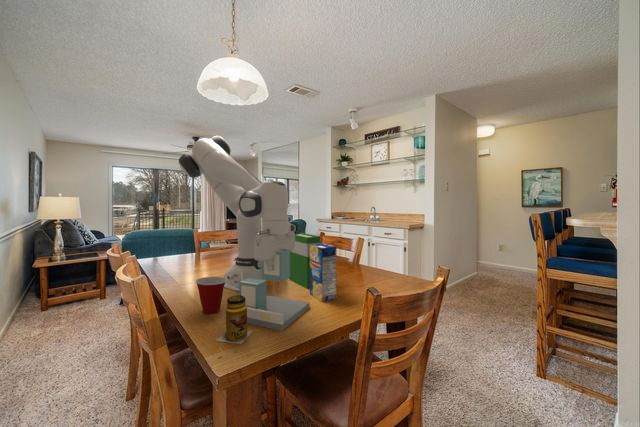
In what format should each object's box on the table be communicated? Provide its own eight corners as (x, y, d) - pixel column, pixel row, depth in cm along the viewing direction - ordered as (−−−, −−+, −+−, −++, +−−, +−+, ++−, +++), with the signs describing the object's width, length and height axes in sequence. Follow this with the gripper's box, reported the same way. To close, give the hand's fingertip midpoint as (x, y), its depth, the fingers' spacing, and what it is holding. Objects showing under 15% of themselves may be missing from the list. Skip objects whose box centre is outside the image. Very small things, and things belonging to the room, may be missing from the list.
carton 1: (239, 309, 96) (238, 281, 95) (248, 304, 100) (248, 277, 100) (257, 313, 92) (257, 284, 92) (266, 308, 97) (266, 280, 97)
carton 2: (261, 279, 91) (261, 249, 91) (270, 275, 96) (270, 247, 95) (281, 282, 88) (281, 251, 87) (289, 278, 93) (289, 248, 92)
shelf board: (231, 319, 92) (231, 305, 92) (265, 300, 110) (265, 288, 110) (281, 331, 84) (281, 315, 84) (309, 307, 102) (309, 294, 102)
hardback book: (289, 279, 139) (288, 233, 138) (301, 277, 143) (301, 232, 142) (307, 289, 124) (307, 237, 123) (320, 286, 128) (320, 236, 127)
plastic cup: (232, 310, 100) (232, 278, 99) (203, 319, 92) (203, 285, 91) (219, 302, 107) (218, 273, 107) (191, 311, 100) (190, 279, 99)
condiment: (242, 344, 77) (241, 302, 76) (214, 341, 78) (214, 301, 77) (252, 331, 84) (252, 294, 83) (227, 329, 85) (226, 292, 85)
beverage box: (322, 302, 108) (322, 248, 107) (309, 294, 118) (309, 244, 117) (336, 299, 111) (336, 246, 110) (323, 291, 121) (323, 243, 120)
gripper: (265, 231, 80) (265, 277, 81) (297, 225, 99) (298, 263, 100) (248, 231, 83) (248, 275, 83) (283, 225, 101) (283, 261, 102)
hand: (276, 268), depth 92 cm, fingers closed on carton 2, 5 cm apart
